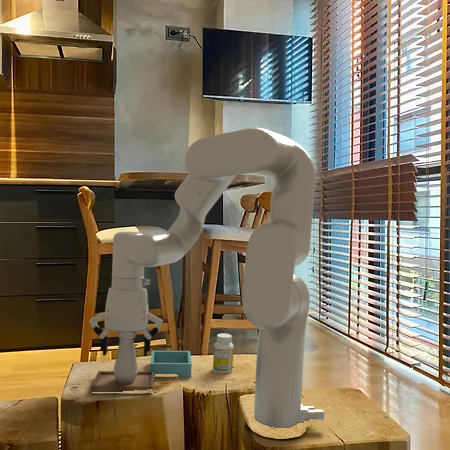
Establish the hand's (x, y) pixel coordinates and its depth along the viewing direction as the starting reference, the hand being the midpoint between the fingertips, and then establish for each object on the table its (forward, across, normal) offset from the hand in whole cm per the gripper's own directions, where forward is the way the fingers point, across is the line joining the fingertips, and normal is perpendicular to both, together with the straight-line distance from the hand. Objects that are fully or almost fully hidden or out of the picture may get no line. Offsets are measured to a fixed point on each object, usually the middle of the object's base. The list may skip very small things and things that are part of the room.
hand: (125, 354), depth 117 cm
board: (+8, 0, 0) cm, 8 cm away
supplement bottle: (+8, -25, -11) cm, 28 cm away
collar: (+8, -11, -11) cm, 17 cm away
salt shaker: (+7, 0, 0) cm, 7 cm away
